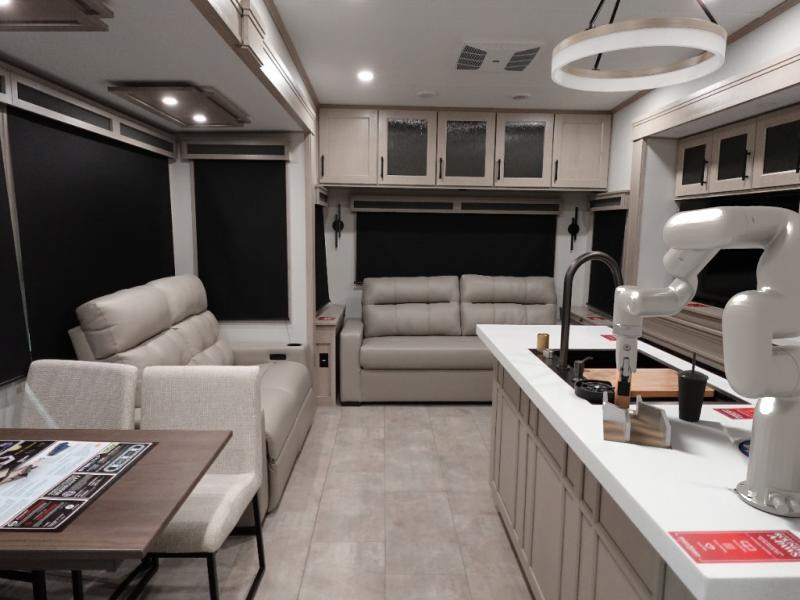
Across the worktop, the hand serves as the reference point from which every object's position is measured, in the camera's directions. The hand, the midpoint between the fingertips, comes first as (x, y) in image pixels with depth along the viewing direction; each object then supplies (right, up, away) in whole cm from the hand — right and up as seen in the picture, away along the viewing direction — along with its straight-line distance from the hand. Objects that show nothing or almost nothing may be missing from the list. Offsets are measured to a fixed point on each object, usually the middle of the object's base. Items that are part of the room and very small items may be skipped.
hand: (622, 392), depth 147 cm
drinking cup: (+17, -8, -2) cm, 19 cm away
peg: (0, -4, +1) cm, 4 cm away
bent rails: (-1, -9, -7) cm, 11 cm away
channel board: (-1, -9, -7) cm, 11 cm away
